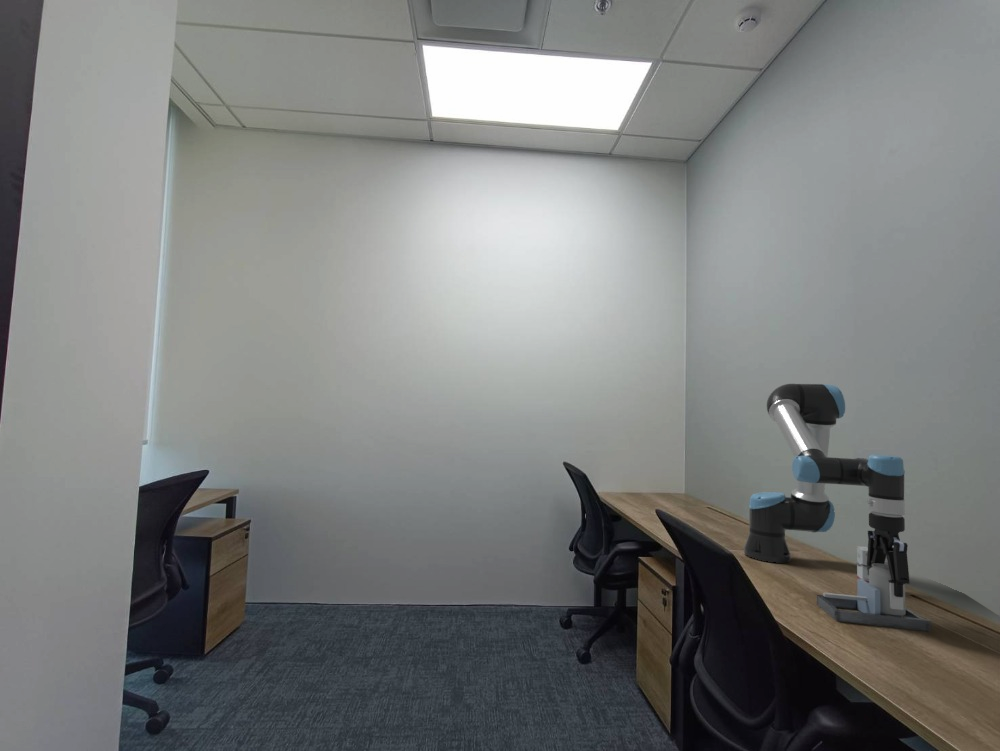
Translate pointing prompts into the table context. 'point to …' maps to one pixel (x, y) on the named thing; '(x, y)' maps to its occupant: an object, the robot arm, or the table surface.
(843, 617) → the frame
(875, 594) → the pusher
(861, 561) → the ink box
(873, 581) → the can
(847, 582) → the table surface
